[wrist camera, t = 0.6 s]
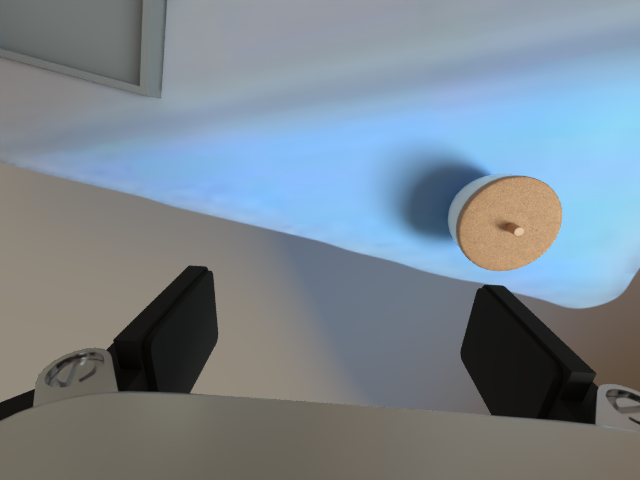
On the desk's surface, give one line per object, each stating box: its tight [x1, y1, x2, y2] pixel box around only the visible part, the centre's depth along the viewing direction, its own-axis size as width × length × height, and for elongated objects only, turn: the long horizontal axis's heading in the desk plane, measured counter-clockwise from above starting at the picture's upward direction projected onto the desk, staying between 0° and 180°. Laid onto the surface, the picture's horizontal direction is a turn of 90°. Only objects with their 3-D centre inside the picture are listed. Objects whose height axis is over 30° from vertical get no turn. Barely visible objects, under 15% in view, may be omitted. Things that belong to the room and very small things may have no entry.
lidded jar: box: [448, 174, 562, 271], centre depth 35 cm, size 11×11×9 cm
